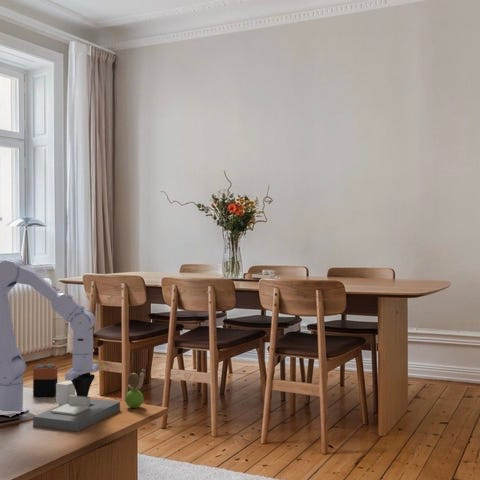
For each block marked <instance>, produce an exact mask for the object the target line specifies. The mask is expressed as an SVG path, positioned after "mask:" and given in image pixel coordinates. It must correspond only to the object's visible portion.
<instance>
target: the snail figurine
mask: <svg viewBox="0 0 480 480" xmlns="http://www.w3.org/2000/svg"><path fill="white" fill-rule="evenodd" d="M141 371H142V372H140V373H139V375H138V373H136V372H132V373H130V374H129V375H128V377H127V382H128V385H127V387H128V389H129V390H128V391H127V393H126V395H125V398H124V402H125V405H127V407H129V408H131V409H137V408H139V407H140V406H142V404H143V403H144V394H143V393H142V392H141V391H140V389H141V388H142V386H143V384H144V378H145V371H146V369H145V368H141Z"/></svg>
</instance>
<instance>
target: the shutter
mask: <svg viewBox="0 0 480 480" xmlns="http://www.w3.org/2000/svg"><path fill="white" fill-rule="evenodd" d="M90 399H91V397H90V396H87V397H85V396H77V394H75V395H69V404H66V405H63V406H61V407H58V408H56V409H54V410H51V413H59V414H68V415H76V414H78V413H81V412H83V411H85V410H87V409H89V408H90Z"/></svg>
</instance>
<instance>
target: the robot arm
mask: <svg viewBox="0 0 480 480" xmlns="http://www.w3.org/2000/svg"><path fill="white" fill-rule="evenodd" d="M16 284H19V285H20V284H21V285H27V286H28V285H29V286H30V287H32V289H34V290H35V291H36V292H38V293H39V294H40V295H42V296H43V297H44V298H45V299H46V300H48V301H50V307H51V309H52V310H53V311H54V312H56V313H57V314H58V315H59V316H60V317H61V318H63V320H65V321H66V322H67V323H69V325H70V326H69V327H70V328H71V330H72V335H73V336H72V363H71V365H72V368H70V370H69V371H68V372H65V373H64V374H65V375H64V378H65V379H64V381H70V382H72V383H73V385H74V387H75V395H76V396H85V397H89V396H88V395H89V393H90V389H91V386H92V383H93V382H94V379H95V378H96V377H95V374H92V373H96V372H99V369H100V364H99V363H94V334H93V333H94V328H93V327H94V326H95V323H96V317H95V314H93V312H92V311H91V310H90V309H86V307H85V306H84V305H80V304H79V303H78V302H77V301H75V300H74V299H73V298H74V297H73V295H72V294H71V293H69V294H67V293H66V292H61V293H60V292H58V290H56V289H55V288H54V287H53V286H52V285H51V284H50V283H48V282H47V280H45V279H44V278H43V277H42V276H41V274H39V273H38V272H37V271H36V270H35V269H34V268H33V267H32V266H30V265H29V264H28V263H26V262H25V261H24V260H21V259H14V260H2V261H0V410H2V411H25V412H24V413H27V412H29V411H30V408H25V407H24V405H23V404H24V378H23V375H24V374H25V372H26V370H27V364H26V362H25V359H23V357H22V352H21V350H20V349H19V348H18V347H17V342H16V337H15V336H16V335H15V330H14V325H13V319H12V313H11V306H10V300H9V293H10V291H12V289H13V288H14V286H15V285H16Z"/></svg>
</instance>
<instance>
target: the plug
mask: <svg viewBox="0 0 480 480" xmlns="http://www.w3.org/2000/svg"><path fill="white" fill-rule="evenodd" d="M69 395H76V390H75V387H74V385H73V383H72V381H70V380H62V381H60V382H57V384H56V395H55V404H56V405H58V406H60V405H62V404H65V403H67V402H69Z"/></svg>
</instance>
